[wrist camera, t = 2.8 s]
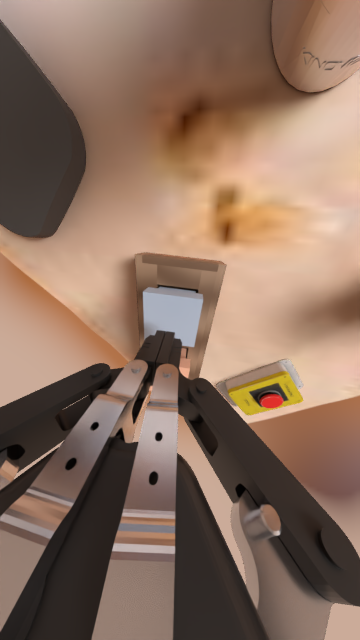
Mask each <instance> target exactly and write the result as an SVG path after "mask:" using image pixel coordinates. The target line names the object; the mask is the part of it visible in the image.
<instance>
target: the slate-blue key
mask: <svg viewBox="0 0 360 640" xmlns="http://www.w3.org/2000/svg"><path fill="white" fill-rule="evenodd" d="M202 304H203V294H198V293H196V291H190V290H182V289H174V288H166V287H159V288H151V287H148V288H147V289H145V290H144V291H143V312H144V340H145V339H146V338H147V337H148V336H149V335H154V336H155V334H156V331H157V330H162V331H170V332H175V338H177V339H181V342H182V346H189V347H194V345H195V340H196V335H197V330H198V325H199V319H200V314H201V309H202Z"/></svg>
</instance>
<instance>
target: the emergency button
mask: <svg viewBox="0 0 360 640" xmlns="http://www.w3.org/2000/svg"><path fill="white" fill-rule="evenodd" d="M216 386H217V388H218V389H219V390H220V392H221V393H222V394H223V395H224V396H225V397H226V398H227V399H228V400H229V402H230V403H231V404H232V405H233V406H239V408H240V409H241V410H242V411H243V412H244V413H245V414H246V415H253V414H257V413H261V412H265V411H269V410H273V409H277V408H281V407H285V406H289V405H293V404H297V403H300V402H302V401H303V398H302V396H301V394H300V392H299V391H298V389H300V388H302V387H303V383H302V381H301V379H300V377H299V375H298V373H297V371H296V369H295V367H294V366H293V364H292V362H291V360H289V359H283V360H280V361H277V362H274V363H272V364H269V365H266V366H263V367H261V368H258V369H255V370H252V371H250V372H247V373H244V374H241V375H239V376H236V377H233V378H230V379H228V380H225V381H222V382H219V383H218V384H217V385H216Z"/></svg>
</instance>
